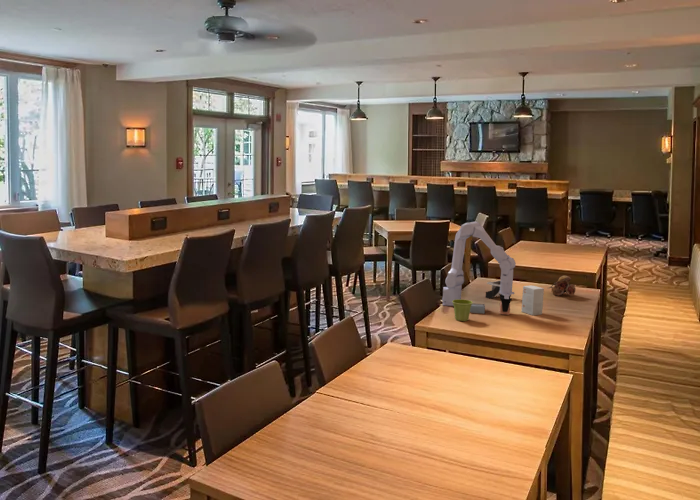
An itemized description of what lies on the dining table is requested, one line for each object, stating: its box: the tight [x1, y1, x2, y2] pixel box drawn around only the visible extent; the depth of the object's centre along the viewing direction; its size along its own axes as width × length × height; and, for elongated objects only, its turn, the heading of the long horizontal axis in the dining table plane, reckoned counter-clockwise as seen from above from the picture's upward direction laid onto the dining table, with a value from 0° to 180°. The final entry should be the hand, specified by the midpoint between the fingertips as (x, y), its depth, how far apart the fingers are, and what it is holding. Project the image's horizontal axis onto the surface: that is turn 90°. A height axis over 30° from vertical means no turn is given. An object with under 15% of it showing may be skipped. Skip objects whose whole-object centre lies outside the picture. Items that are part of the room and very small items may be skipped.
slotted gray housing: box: [470, 303, 486, 314], centre depth 301 cm, size 8×5×4 cm, turn 80°
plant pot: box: [452, 298, 473, 322], centre depth 286 cm, size 9×9×9 cm
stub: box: [499, 301, 511, 316], centre depth 299 cm, size 4×5×5 cm
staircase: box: [484, 280, 501, 299], centre depth 332 cm, size 9×10×12 cm
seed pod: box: [547, 275, 576, 296], centre depth 343 cm, size 13×16×15 cm
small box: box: [521, 285, 545, 316], centre depth 301 cm, size 8×6×13 cm
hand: (504, 310), depth 299 cm, fingers closed on stub, 5 cm apart
